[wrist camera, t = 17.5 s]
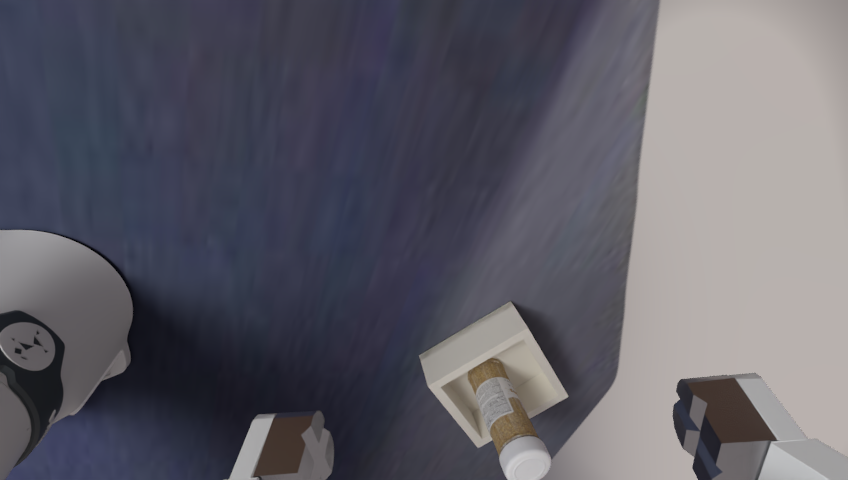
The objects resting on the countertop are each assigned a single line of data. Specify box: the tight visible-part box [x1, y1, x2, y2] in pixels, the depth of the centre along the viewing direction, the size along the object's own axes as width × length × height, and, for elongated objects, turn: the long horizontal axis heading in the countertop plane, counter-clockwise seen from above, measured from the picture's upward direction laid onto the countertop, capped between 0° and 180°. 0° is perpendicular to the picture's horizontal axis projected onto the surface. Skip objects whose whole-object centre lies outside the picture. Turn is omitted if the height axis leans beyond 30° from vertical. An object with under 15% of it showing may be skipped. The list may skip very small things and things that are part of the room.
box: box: [419, 301, 569, 448], centre depth 54 cm, size 12×12×5 cm
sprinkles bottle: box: [468, 358, 551, 480], centre depth 49 cm, size 5×5×13 cm
